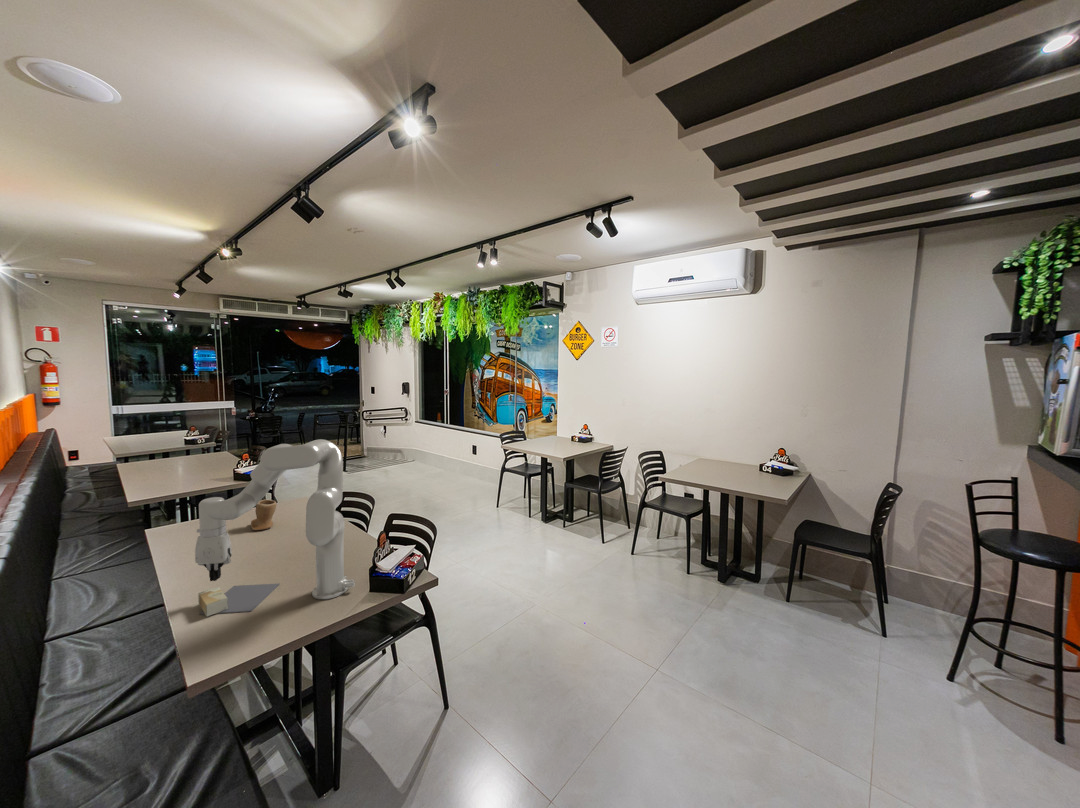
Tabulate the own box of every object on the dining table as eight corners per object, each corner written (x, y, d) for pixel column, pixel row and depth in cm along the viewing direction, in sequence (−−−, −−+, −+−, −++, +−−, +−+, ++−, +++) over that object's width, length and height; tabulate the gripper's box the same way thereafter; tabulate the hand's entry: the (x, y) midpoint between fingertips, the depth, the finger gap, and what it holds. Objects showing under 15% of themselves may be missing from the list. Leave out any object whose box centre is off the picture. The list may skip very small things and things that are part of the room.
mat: (279, 584, 160) (279, 583, 160) (251, 611, 141) (251, 610, 141) (233, 586, 158) (233, 585, 158) (199, 614, 139) (199, 613, 139)
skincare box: (219, 586, 149) (228, 597, 142) (219, 597, 150) (229, 608, 142) (196, 593, 144) (205, 605, 137) (197, 604, 144) (206, 617, 137)
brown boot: (277, 528, 219) (276, 502, 218) (251, 533, 212) (250, 506, 211) (276, 520, 231) (275, 495, 230) (251, 524, 224) (250, 498, 223)
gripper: (183, 536, 142) (185, 585, 143) (228, 534, 144) (230, 583, 145) (198, 528, 150) (200, 575, 151) (241, 526, 151) (243, 573, 152)
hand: (215, 579), depth 148 cm, fingers closed
